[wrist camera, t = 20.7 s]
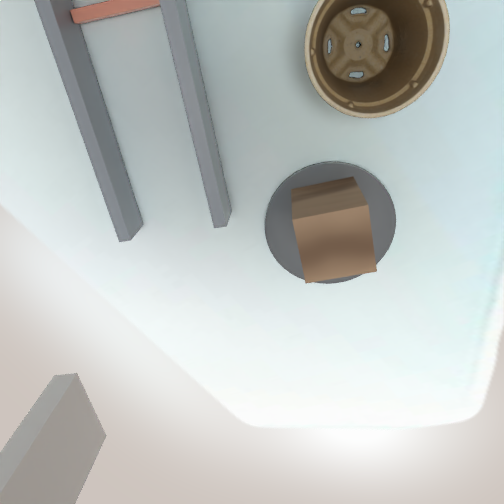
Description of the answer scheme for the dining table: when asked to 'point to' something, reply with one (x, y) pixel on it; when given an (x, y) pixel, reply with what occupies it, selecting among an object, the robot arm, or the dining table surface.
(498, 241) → the dining table surface
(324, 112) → the dining table surface
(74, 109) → the channel
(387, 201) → the coaster
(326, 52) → the flower pot
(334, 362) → the dining table surface
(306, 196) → the block
